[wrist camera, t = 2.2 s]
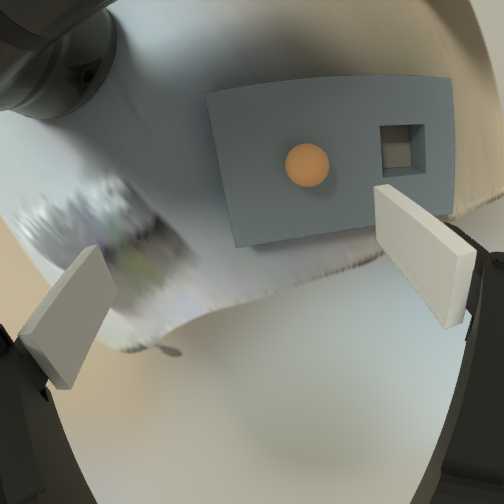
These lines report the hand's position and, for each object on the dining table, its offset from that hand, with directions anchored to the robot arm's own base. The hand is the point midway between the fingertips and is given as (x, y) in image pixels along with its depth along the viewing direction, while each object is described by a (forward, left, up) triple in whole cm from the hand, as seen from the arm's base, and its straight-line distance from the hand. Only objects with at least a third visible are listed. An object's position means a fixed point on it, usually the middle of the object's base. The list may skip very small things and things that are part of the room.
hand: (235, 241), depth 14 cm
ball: (+6, -1, -15) cm, 17 cm away
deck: (+11, -1, -21) cm, 24 cm away
